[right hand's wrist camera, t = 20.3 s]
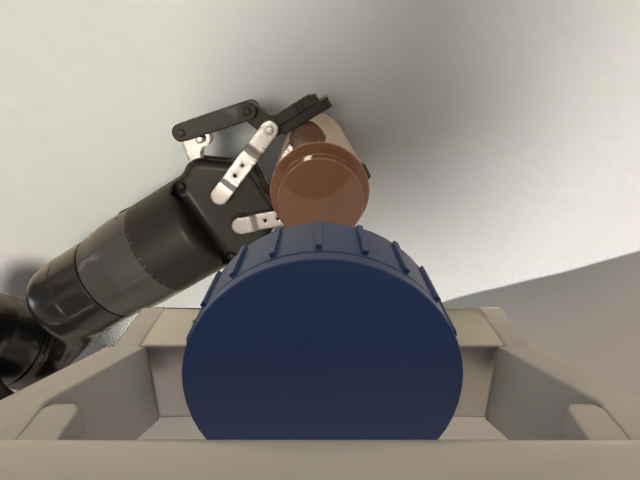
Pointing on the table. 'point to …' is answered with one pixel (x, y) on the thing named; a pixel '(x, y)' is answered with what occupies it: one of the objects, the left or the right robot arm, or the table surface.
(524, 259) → the table surface
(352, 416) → the lid
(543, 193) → the table surface
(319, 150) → the brown cylinder
